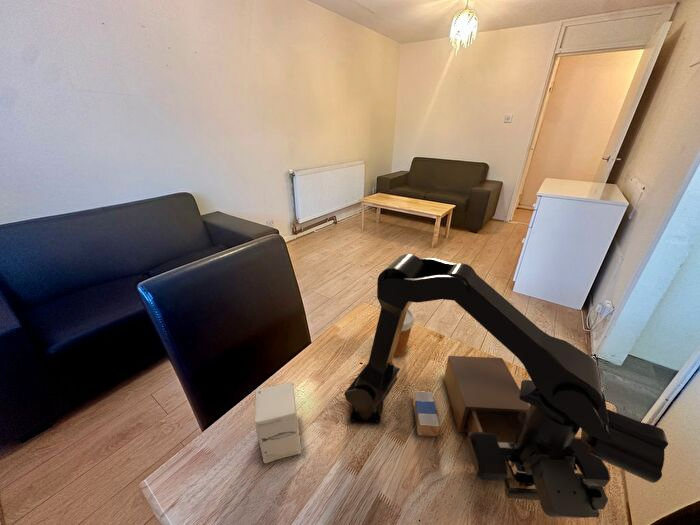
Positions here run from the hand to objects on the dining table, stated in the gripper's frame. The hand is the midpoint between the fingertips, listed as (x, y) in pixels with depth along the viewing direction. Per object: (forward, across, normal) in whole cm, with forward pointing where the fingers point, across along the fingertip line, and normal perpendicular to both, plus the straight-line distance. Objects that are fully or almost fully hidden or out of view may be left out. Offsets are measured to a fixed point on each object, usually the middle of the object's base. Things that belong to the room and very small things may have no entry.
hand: (519, 486), depth 48 cm
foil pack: (+4, -13, +14) cm, 19 cm away
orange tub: (+4, -18, +35) cm, 40 cm away
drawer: (+3, 0, +6) cm, 7 cm away
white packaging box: (+4, -43, +7) cm, 44 cm away
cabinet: (+4, 0, +18) cm, 18 cm away
